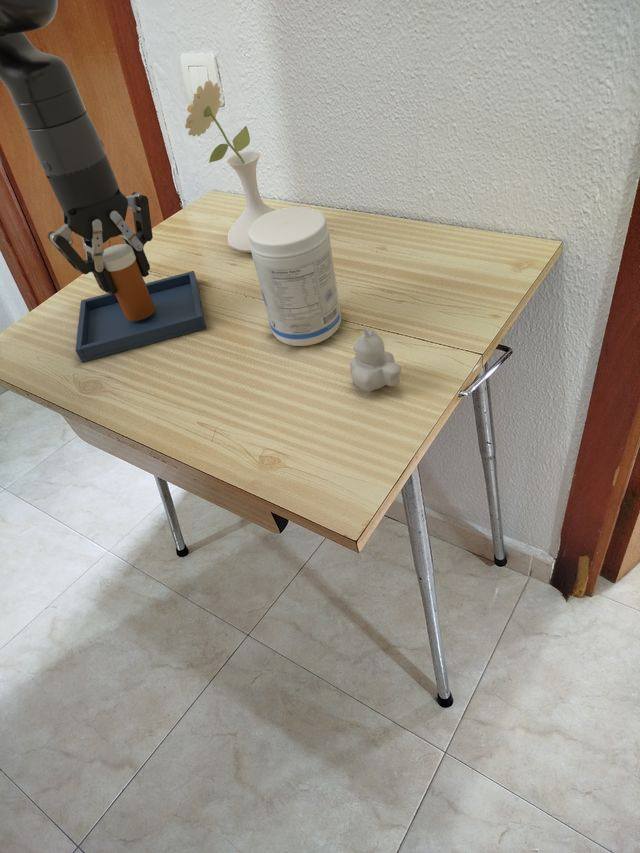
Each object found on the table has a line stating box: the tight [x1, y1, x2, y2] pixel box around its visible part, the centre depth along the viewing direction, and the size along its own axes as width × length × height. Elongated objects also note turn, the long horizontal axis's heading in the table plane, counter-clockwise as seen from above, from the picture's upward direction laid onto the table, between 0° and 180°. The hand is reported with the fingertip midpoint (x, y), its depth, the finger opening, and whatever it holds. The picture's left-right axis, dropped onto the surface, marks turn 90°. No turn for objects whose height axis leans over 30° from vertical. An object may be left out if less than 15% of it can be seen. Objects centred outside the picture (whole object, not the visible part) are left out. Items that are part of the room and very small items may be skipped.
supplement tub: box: [248, 205, 342, 347], centre depth 73 cm, size 10×10×15 cm
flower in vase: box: [184, 79, 277, 254], centre depth 89 cm, size 13×11×25 cm
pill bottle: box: [103, 243, 155, 321], centre depth 82 cm, size 5×5×10 cm
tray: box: [75, 270, 207, 363], centre depth 86 cm, size 18×14×2 cm
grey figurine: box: [349, 326, 402, 392], centre depth 65 cm, size 5×7×8 cm
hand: (127, 283), depth 82 cm, fingers closed on pill bottle, 4 cm apart
